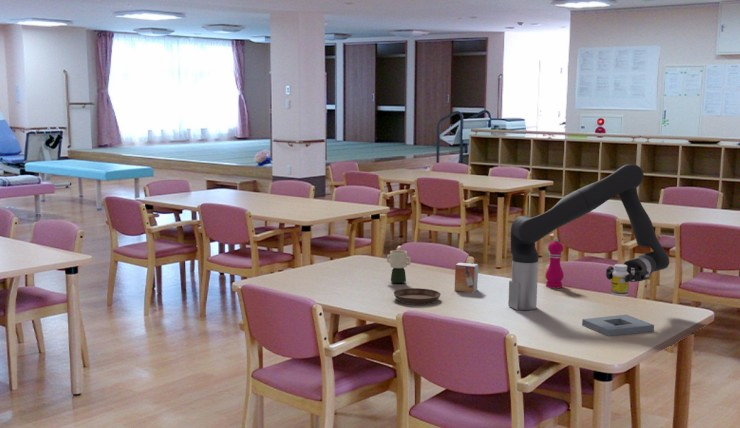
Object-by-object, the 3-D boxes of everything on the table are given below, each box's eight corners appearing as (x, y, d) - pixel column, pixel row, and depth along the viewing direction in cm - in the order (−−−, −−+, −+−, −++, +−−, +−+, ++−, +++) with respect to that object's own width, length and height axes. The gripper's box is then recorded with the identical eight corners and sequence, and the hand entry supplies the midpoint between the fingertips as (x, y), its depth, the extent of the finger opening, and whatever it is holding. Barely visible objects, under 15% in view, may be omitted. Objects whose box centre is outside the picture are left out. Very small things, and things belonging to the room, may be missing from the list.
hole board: (608, 336, 262) (609, 330, 262) (582, 324, 275) (582, 319, 275) (653, 330, 269) (654, 324, 269) (625, 320, 282) (626, 314, 281)
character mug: (414, 282, 336) (414, 251, 334) (405, 286, 330) (406, 254, 328) (391, 279, 342) (391, 248, 340) (382, 282, 336) (382, 251, 334)
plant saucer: (409, 293, 320) (409, 285, 319) (449, 299, 309) (449, 291, 309) (384, 301, 305) (384, 293, 305) (424, 309, 295) (424, 300, 295)
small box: (454, 290, 323) (454, 264, 321) (458, 287, 328) (458, 262, 326) (473, 292, 320) (474, 266, 318) (477, 289, 325) (478, 263, 323)
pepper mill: (563, 288, 328) (565, 239, 325) (545, 287, 329) (546, 238, 326) (562, 285, 335) (565, 236, 332) (544, 284, 336) (546, 235, 333)
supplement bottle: (608, 292, 273) (609, 263, 272) (624, 292, 273) (625, 263, 272) (614, 296, 268) (616, 267, 266) (630, 296, 268) (632, 266, 267)
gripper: (616, 255, 285) (597, 263, 271) (658, 261, 276) (639, 269, 263) (615, 276, 286) (596, 285, 273) (656, 282, 277) (638, 292, 264)
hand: (617, 277), depth 268 cm, fingers closed on supplement bottle, 5 cm apart
